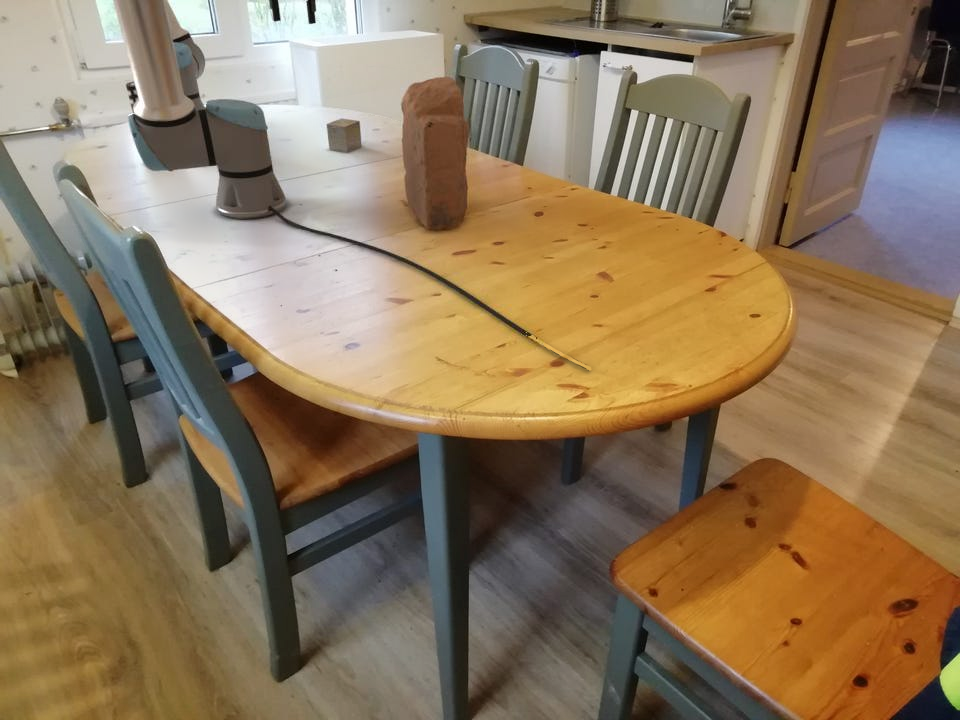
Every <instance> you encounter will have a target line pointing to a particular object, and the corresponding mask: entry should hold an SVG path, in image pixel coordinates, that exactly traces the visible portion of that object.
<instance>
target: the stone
mask: <svg viewBox="0 0 960 720" xmlns="http://www.w3.org/2000/svg"><path fill="white" fill-rule="evenodd" d="M400 107H401V112H402V114H403V115H402V116H403V118H402V119H403V120H402V121H403V122H402V130H401V133H402V138H401V147H402V161H403V167H404V170H405V174H404V178H403V179H404V180H403V181H404V190H405V197H406V201H407V203H408V204H409V207H410V208H411V210H412V212H413V213H414V215H415V217H416V219H417V220H418V221H419V223H420V224H421V225H422V226H424V228H425V230H427V231H440V230H447V229H453V228H456V227H457V226H458V225H459V224H460V223H462V222H464V220H465V217H466V216H465V215H466V212H467V209H468V190H469V186H468V177H467V169H466V168H467V167H466V166H467V156H468V143H469V142H468V141H469V121H467V120H466V119H465V115H464V113H465V111H464V110H465V109H464V108H465V107H464V99H463V95H462V91H461V88H460V87H459V85H457V81H455V80H454V78H453V77H451V76H438V77H434V78H429V79H425V80H423V81H419V82H413V83H412V84H410V85H409V86H408V88H407V89H406V91H405V92H404V95H403V96H402V99H401V103H400Z"/></svg>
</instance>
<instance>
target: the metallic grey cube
mask: <svg viewBox="0 0 960 720" xmlns="http://www.w3.org/2000/svg"><path fill="white" fill-rule="evenodd" d="M326 132H327V141H328V150H329V151H335V152H341V153H350V152H353V151H355V150H357V149H359V148H361V147H362V146H363V145H362V132H361V121H360V120H357V119H349V118H342V117H341V118H338V119H336V120H334V121H331V122H328V123H326Z"/></svg>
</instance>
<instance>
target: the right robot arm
mask: <svg viewBox="0 0 960 720" xmlns="http://www.w3.org/2000/svg"><path fill="white" fill-rule="evenodd" d="M112 1H113V5H114V9H115V13H116V17H117V21H118V25H119V29H120V33H121V36H122V40H123V45H124V48H125V52H126V55H127V59H128V64H129V67H130V71H131V72H130V73H131V75H132V80H133V82H134V83H135V87H136V91H137V95H138V100H137V101H136V102H135V103H134V105H133V111H134V114H133V113H131V114H129V115H128V117H127V123H128V127H129V131H130V133H131V135H132V139H133V142H134V145H135V148H136V150H137V153H138V154H139V158H140V159H141V161H142V163H143V164H144V165H145V167H146V168H147V169H149V170H150V171H152V172H153V171H154V172H165V171H167V172H173V171H177V170H187V169H198V168H199V169H200V168H208V167H217V169H218V170H217V172H218V185H217V193H216V201H215V206H216V210H217V213H218V214H219V215H221V216H223V217H225V218H229V219H236V220H253V219H260V218H261V219H262V218H265V217H266V218H267V217H270V216H274V215H276V217H277V218H279V219H280V220H281V221H283V222H285V223H286V224H287V225H290V226H292V227H293V228H296V229H300V230H303V231H305V232H308V233H313V234H316V235H321V236H325V237H328V238H332V239H336V240H340V241H342V242H346V243H350V244H353V245H357V246H359V247H362V248H364V249H369V250H371V251H373V252H374V251H375V252H376V253H379V254H383V255H385V256H387V257H388V256H389V257H391V258H393V259H396V260H398V261H400V262H402V263H405V264H406V265H409V266H411V267H414V268H415V269H417V270H419V271H422V272H423V273H425V274H427V275H428V276H430V277H433V278H434V279H435V280H438V281H440V282H441V283H443V284H445V285H446V286H448V287H450V288H451V289H453V290H455V291H456V292H458V293H459V294H461V295H462V296H463V297H465V298H467V299H469V300H470V301H472V302H473V303H475V304H476V305H478V306H479V307H481V308H482V309H483V310H485V311H487V312H488V313H490V314H491V315H492V316H494V317H495V318H497V319H499V320H500V321H501V322H503V323H505V324H506V326H507V325H508V326H509V327H510V328H512V329H514V330H515V331H516V332H518V333H520V334H521V335H523V336H525V335H527V337H526V338H528V336H531V335H533V334H532V333H530V332H529V331H527V330H526V329H524V328H523V327H521V326H520V325H517V324H516V323H514V321H511V320H510V319H508V318H507V317H505V316H504V315H502V314H501V313H499V312H498V311H496V310H495V309H494V308H492V307H490V306H488V305H487V304H486V303H484V302H482V301H481V300H479V299H478V298H477V297H475V296H474V295H472V294H471V293H469V292H468V291H466V290H464V289H463V288H461V287H460V286H458V285H456V284H454V283H453V282H451V281H450V280H448V279H446V278H445V277H443V276H441V275H439V274H437V273H435V272H434V271H432V270H430V269H428V268H427V267H424V266H422V265H420V264H418V263H417V262H415V261H412V260H410V259H407V258H405V257H402V256H400V255H398V254H395V253H392V252H390V251H387V250H384V249H383V248H380V247H377V246H374V245H371V244H368V243H366V242H365V243H364V242H361V241H358V240H355V239H352V238H349V237H345V236H341V235H339V234H334V233H331V232H327V231H322V230H317V229H314V228H310V227H307V226H304V225H301V224H298V223H295V222H294V221H292V220H290V219H287V218H286V217H285V216H284V215H282V214H281V213H280V212H282V211H283V210H285V209H286V207H287V199H286V194H285V193H284V191H283V189H282V187H281V184H280V182H279V180H278V179H277V177H276V175H275V172H274V167H273V160H272V155H271V149H270V142H269V137H268V125H267V123H266V118H265V113H264V110H263V109H262V108H261V107H260V106H259V105H258V104H255V103H253V102H250V101H246V100H241V99H231V98H217V99H209V100H207V101H206V102H205V104H204V107H205V109H200V110H195V107H194V103H193V101H192V100H191V99H189V98H188V97H186V96H185V95H184V92H183V87H182V82H181V77H180V73H179V68H178V63H177V58H176V54H175V49H174V44H173V39H172V35H171V30H170V25H169V20H168V16H167V11H166V6H165V1H164V0H112ZM133 111H132V112H133ZM526 332H527V333H526ZM535 337H536V339H537V338H538V336H535Z"/></svg>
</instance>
